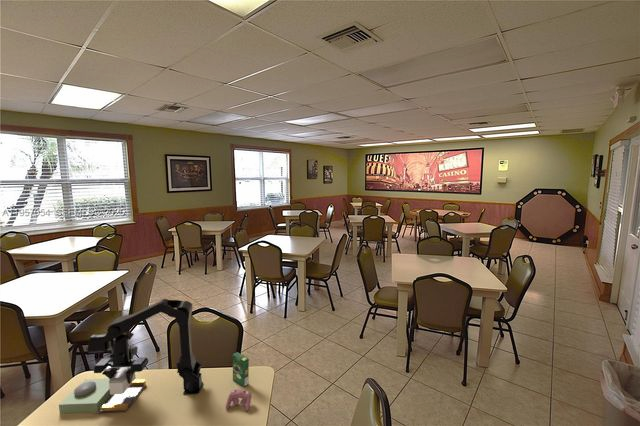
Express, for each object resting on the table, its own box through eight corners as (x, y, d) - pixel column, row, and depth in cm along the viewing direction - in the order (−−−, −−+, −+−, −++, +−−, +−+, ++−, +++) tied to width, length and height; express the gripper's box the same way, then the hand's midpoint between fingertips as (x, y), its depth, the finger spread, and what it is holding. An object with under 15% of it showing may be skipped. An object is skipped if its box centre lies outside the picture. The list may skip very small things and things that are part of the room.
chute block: (135, 378, 125) (134, 365, 124) (123, 394, 116) (122, 380, 115) (123, 378, 125) (122, 366, 124) (110, 394, 116) (108, 381, 115)
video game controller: (251, 408, 119) (253, 389, 121) (247, 412, 115) (250, 392, 117) (228, 406, 120) (230, 387, 122) (224, 410, 116) (226, 390, 118)
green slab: (119, 386, 128) (118, 375, 127) (97, 412, 114) (96, 399, 113) (85, 387, 126) (84, 376, 126) (59, 413, 113) (58, 401, 112)
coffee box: (249, 384, 131) (249, 357, 129) (244, 388, 128) (244, 360, 126) (237, 377, 135) (236, 351, 133) (232, 380, 133) (231, 354, 131)
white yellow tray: (145, 384, 129) (145, 379, 129) (125, 412, 114) (125, 406, 114) (122, 385, 128) (121, 380, 128) (99, 413, 113) (98, 407, 113)
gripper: (153, 337, 127) (155, 369, 129) (109, 338, 125) (112, 371, 127) (139, 352, 116) (142, 388, 118) (90, 354, 114) (94, 389, 116)
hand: (123, 383), depth 120 cm, fingers closed on chute block, 5 cm apart
